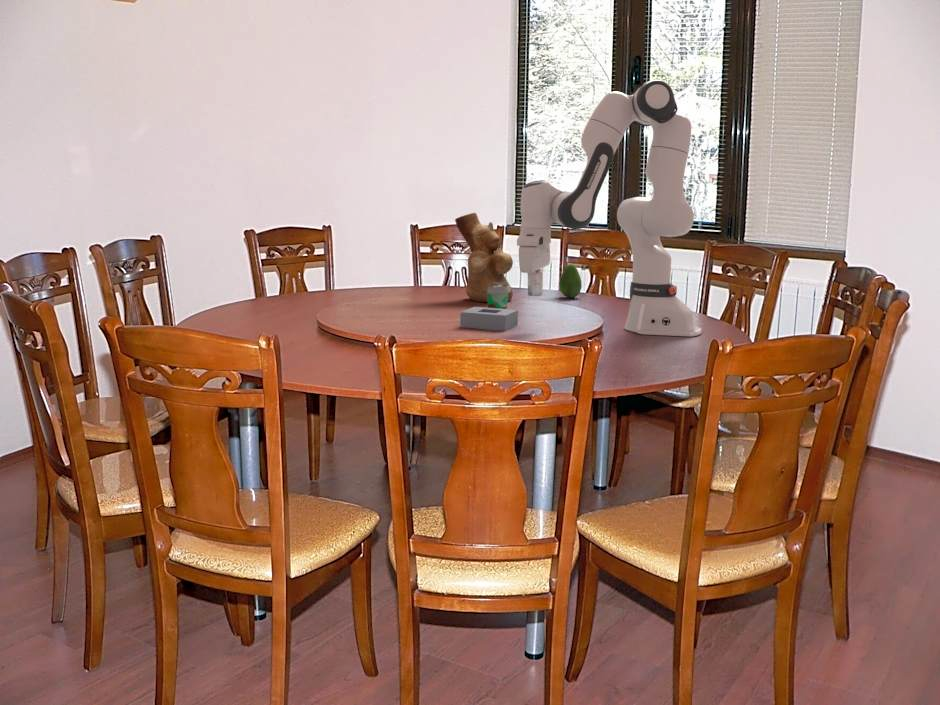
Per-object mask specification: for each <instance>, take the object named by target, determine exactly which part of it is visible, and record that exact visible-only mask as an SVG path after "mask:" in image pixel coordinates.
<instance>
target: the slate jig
mask: <svg viewBox="0 0 940 705" xmlns="http://www.w3.org/2000/svg"><path fill="white" fill-rule="evenodd" d="M459 316H460V322H459V323H460V324H459V326H460V328H466V329H467V328H468V329H476V330H477V329H480V330H491V331H503V332H506V331H508V330H510V329H512V328H514V327H516V326H518V321H519V310H518V309H508V308H507V309H498V308H488V307H481V306H473V307H470V308H468V309H466V310H462V311H460V315H459Z"/></svg>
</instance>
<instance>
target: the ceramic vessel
mask: <svg viewBox="0 0 940 705" xmlns="http://www.w3.org/2000/svg"><path fill="white" fill-rule="evenodd" d="M454 220H455V221H454V222H455V224H456V227H457V229H458V230H459V232H460V234H461V236H462V237H463V239H464V241H465V242H466V243H467V245H468V247H469V249H470V255H469V256H468V258H467V275H468V276H467V281H466V282H467V283H466V289H465V293H466V295H467V297H468V298H469V299H470V300H471V301H474V302H484V303H485V302H486V303H488V294H487V290H488V287H491V286H494V282H496V283H505V284H508V285H509V287H510V292H509V293H508V301H507V302H510V301H512V298H513V296H514V295H513V289H512V286H511V285H510V283H509V282H508V279H507V278H506V276H505V275H506V274H507V273H508V272H510V271H511V270H512V267H513V265H514V262H513V258H512V256H511V255H510V254H509V253H506V252H504V251H503V249H502V248H500V242H501V238H500V236H499V235H498V234H497V232H496V231H495V230H494V224H493V222H492V221H490V222H489V223H488V225H487V224H482V223H481V222H480V220H479V217H478V215H477V213H476V212H471V213H467V214H464V215H462V216H459V217H456V218H455V219H454ZM496 250H497V251H496Z"/></svg>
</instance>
